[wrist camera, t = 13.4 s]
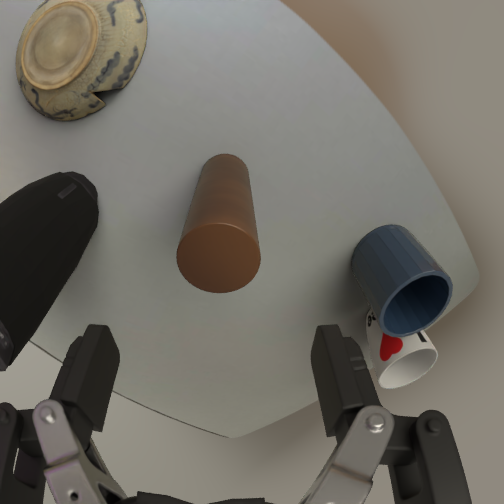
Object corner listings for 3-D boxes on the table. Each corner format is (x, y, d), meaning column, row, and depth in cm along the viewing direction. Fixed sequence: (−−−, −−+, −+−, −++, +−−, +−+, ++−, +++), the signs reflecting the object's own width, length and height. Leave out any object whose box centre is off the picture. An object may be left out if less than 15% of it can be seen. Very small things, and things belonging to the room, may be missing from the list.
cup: (408, 284, 36) (442, 338, 28) (406, 322, 40) (433, 373, 32) (353, 304, 37) (378, 364, 29) (358, 340, 41) (378, 396, 33)
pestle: (236, 146, 26) (239, 209, 14) (256, 187, 28) (273, 277, 16) (193, 165, 27) (160, 243, 15) (214, 205, 29) (201, 303, 17)
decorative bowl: (70, -36, 13) (-1, 86, 19) (53, -46, 10) (-22, 90, 16) (182, 12, 19) (92, 145, 25) (175, 2, 16) (75, 155, 22)
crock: (410, 214, 30) (454, 257, 23) (416, 269, 35) (450, 316, 27) (344, 240, 32) (374, 294, 24) (358, 294, 36) (382, 348, 29)
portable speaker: (70, 252, 31) (-11, 387, 14) (28, 188, 26) (-89, 299, 9) (122, 221, 29) (36, 380, 13) (76, 147, 24) (-71, 256, 8)
